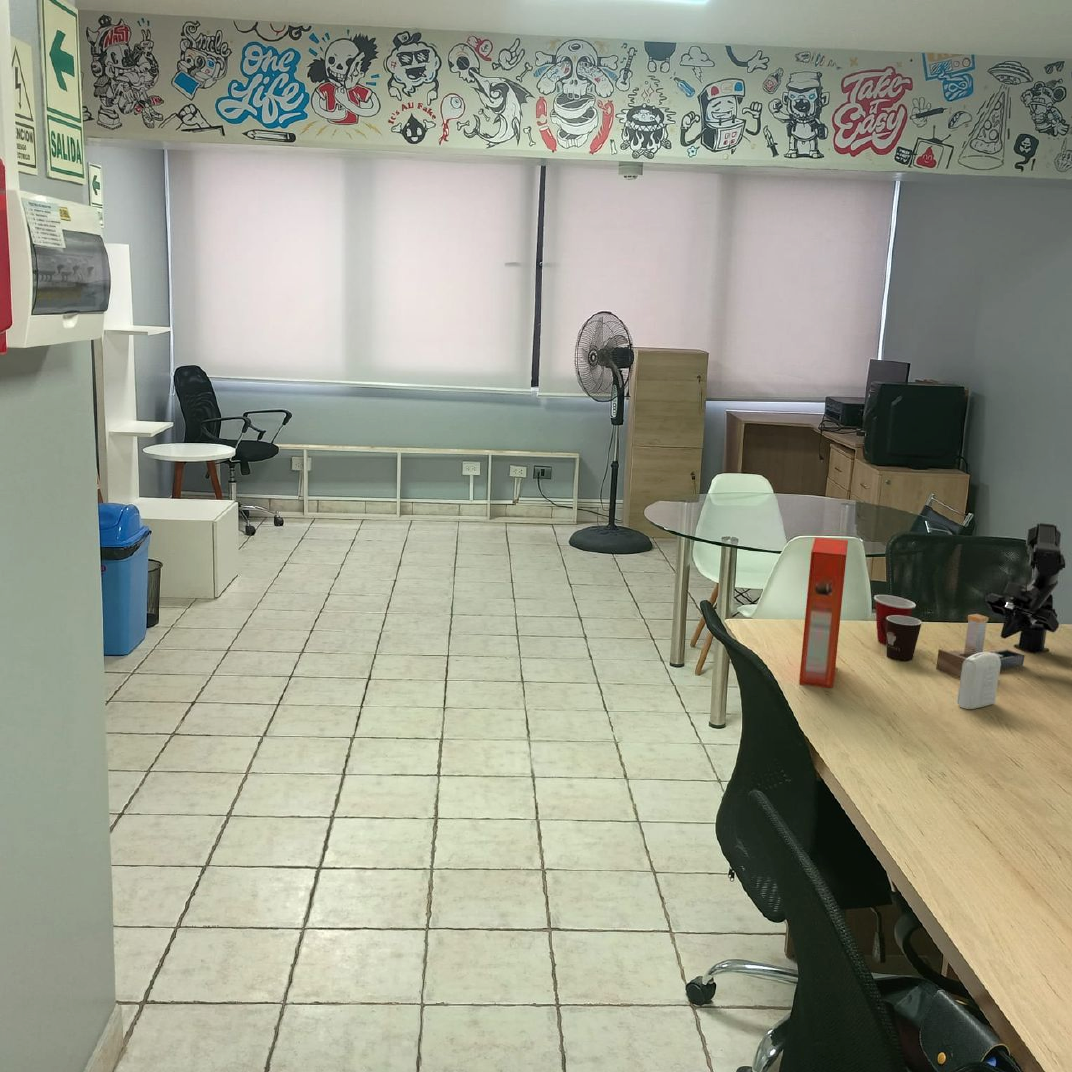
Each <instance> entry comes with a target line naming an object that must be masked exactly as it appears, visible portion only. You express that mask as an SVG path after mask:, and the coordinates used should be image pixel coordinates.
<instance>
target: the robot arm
mask: <svg viewBox="0 0 1072 1072" xmlns="http://www.w3.org/2000/svg"><path fill="white" fill-rule="evenodd" d="M1061 538H1062V533H1061V531H1060V530H1058V528H1057V525H1055V524H1053V523H1052V524H1051V523H1043V522H1039V523H1036V526H1034V527H1031V528H1029V529H1028V531H1027V534H1026V538H1025V539H1026V540H1025V541H1026V542H1025V547H1027V555H1028V556H1029V562H1028V565H1029V567H1031V579H1030V580H1029V581H1028V583H1027V584H1026V585H1023V584H1022V585H1021V584H1018V583H1014V582H1012V581H1008V582H1007V584H1006V586H1005V589H1004V591H1003V594H1004V595H1007V596H1009V597H1010V598H1009V600H1010V602H1009V601H1007V600H1006V598H1005V597H1004V596H1003V595H999V594H996V593H989V594H988V595H987V596H986V597H985V599H984V601H985V603H986V604H987V606H988V608H989V609H990V611H991V612H992V613H993V614H995V615H998V616H1001V617H1004V620H1003V624H1002V629H1001V633H1000V638H1002V639H1005V640H1006V639H1008V638H1010V637H1011V636H1014V635H1015V634H1018V633H1020V634H1019V642H1018V643H1016V644H1013V647H1014V648H1017V649H1020V650H1023V651H1025V652H1026V651H1027V652H1029V653H1032V654H1039V653H1044V652H1048V651H1050V648H1047V647H1045V643H1046V638H1047V637H1046V636H1047V632H1051V633H1055V632H1056V631H1057V630H1058V628H1060V627H1059V626H1060V623H1059V620H1058V619H1057V618H1058V614H1057V612H1056V609H1055V608H1054V600H1053V597H1054V596H1053V594H1052V593H1053V591H1054V590H1055V588H1056V587H1057V586H1058V584H1059V581H1058V578H1059V576H1060V572H1061V571H1063V569H1066V559H1065V557H1064V554H1061V553H1062V552H1061V551H1062V550H1061V548H1060V546H1061Z"/></svg>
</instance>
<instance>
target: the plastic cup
mask: <svg viewBox="0 0 1072 1072" xmlns="http://www.w3.org/2000/svg"><path fill="white" fill-rule="evenodd" d="M873 599H874V602H875V617H876V618H875V619H876V621H875V623H876V633H877V634H876V635H877V641H878V643H879V644H882V645H885V646H886V637H885V635H884V634H883V632H882V630H881V627H880V622H881V620H882V619H883V618H887V617H888V616H892V615H900V616H908V617H911V616H910V615H911V614H912V612H913V610H914V609H915V608H916V606H917V605H916V603H915V602H914V601H911V600H909V599H906V598H903V597H901V596H900V597H899V596H895V595H889V594H877V595H876V594H875V595H874V597H873ZM883 629H884V631H885V633H886V620H884V621H883Z"/></svg>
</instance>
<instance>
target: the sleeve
mask: <svg viewBox="0 0 1072 1072" xmlns="http://www.w3.org/2000/svg"><path fill="white" fill-rule="evenodd" d="M993 652H994V653H997V654H1000V655H1003V656H1004V657H1003V658H1000V661H1001V666H1000V671H1002V670H1007V669H1014V668H1019V667H1023V666H1024V662H1025V654H1022V653H1018V652H1016V651H1014V650H1013V651H1012V650H1010V649H1001V650H995V651H990V653H993Z"/></svg>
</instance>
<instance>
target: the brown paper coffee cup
mask: <svg viewBox="0 0 1072 1072" xmlns="http://www.w3.org/2000/svg"><path fill="white" fill-rule="evenodd" d="M884 620H886V633H885V631H884V629H883V621H884ZM922 623H923V622H922V620H920V619H919V618H916V617H912V616H909V617H908V616H900V615H892V616H888V617H887V618H883V619H882V620H881V622H880V627H881V630H882V632H883V634H884V635H885V637H886V645H885V647H886V653H885V654H886V658H888V659H890V660H892V661H897V662H905V663H906V662H911V661H913V659H914V654H915V652H916V651H915V650H916V646H917V642H918V640H919V635H920V631H921V628H922Z"/></svg>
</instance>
